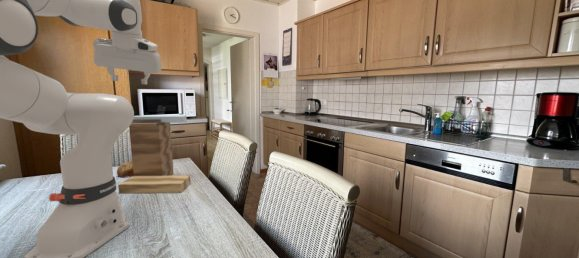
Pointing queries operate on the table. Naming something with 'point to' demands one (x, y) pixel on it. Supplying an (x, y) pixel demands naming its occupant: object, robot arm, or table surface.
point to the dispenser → (151, 147)
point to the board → (154, 184)
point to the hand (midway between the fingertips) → (129, 82)
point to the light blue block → (164, 118)
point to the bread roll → (125, 169)
